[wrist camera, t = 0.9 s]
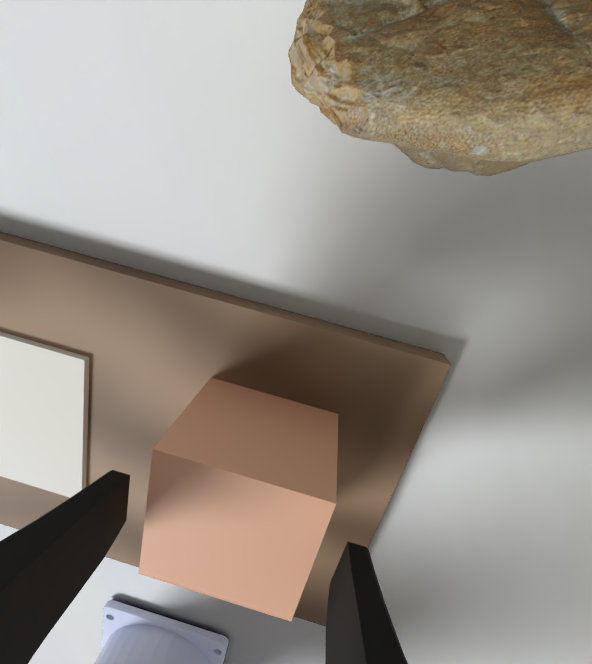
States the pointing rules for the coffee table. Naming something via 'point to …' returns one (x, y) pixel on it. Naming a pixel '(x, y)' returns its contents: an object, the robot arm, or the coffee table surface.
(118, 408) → the post board
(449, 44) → the fossil
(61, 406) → the mat
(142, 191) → the coffee table surface
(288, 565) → the salmon pink cube
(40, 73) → the coffee table surface
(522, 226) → the coffee table surface
